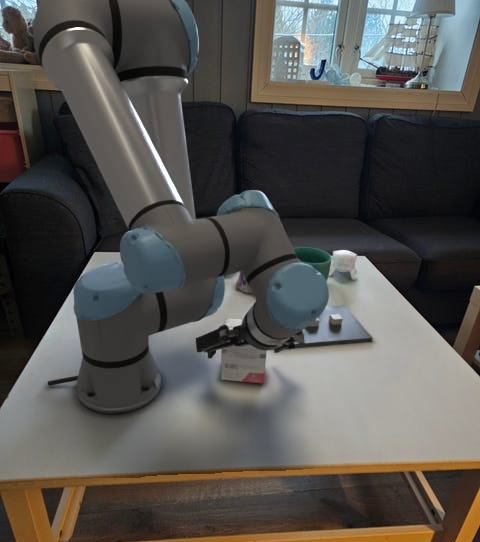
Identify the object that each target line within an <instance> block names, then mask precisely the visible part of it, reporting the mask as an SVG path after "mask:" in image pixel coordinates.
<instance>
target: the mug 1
mask: <svg viewBox="0 0 480 542" xmlns="http://www.w3.org/2000/svg"><path fill="white" fill-rule="evenodd" d="M235 286H236V288H237V289H238V290H240V291H241V292H243V293H251V294H253V293H252V290H251V288H250V286H249V285H248V283H247V281H246V279H245V277H244V275H243V274H242V272H241V271H240V272H239V276H238V278H237V280H236V283H235Z"/></svg>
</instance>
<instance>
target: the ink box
mask: <svg viewBox="0 0 480 542" xmlns="http://www.w3.org/2000/svg"><path fill="white" fill-rule="evenodd" d="M242 321H243V319H237V318H225V320H224V323H223V325H227V326H228V327H229V330H232V329H233V327H235V326H239V325H241V324H242ZM242 342H243V340H242ZM267 353H268V351H264V350H259V349H256V348H254V347H253V346H251V345H246V346H242V347H238V346H231V347H227V348H223V349H221V356H220V357H221V359H220V380H221V381H230V382H231V381H232V382H242V383H243V382H244V383H252V384H253V383H254V384H264V383H265V374H266V364H267Z"/></svg>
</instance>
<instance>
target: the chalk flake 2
mask: <svg viewBox="0 0 480 542" xmlns="http://www.w3.org/2000/svg"><path fill="white" fill-rule="evenodd" d="M342 320H343V319H342V317H341V316H340V315H339V314H332V315H330V317H329V321H330V322H331V323H332V325H338V324H342Z"/></svg>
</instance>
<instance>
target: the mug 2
mask: <svg viewBox="0 0 480 542" xmlns="http://www.w3.org/2000/svg"><path fill="white" fill-rule="evenodd" d="M293 249H294V251H295V253H296V255H297V257H298V259H300V261H301V263H304V264H308V265H310V266H312V267H313V268H314V269H316V270H317V271H318V272H319V273H321V274H322V275H323V277H324V278H325V280H326V282H327V281H328V279H329V277H330V276H329V272H330V268H331V262H332V256H331V254H330V253H328V252H327V251H325V250H323V249H320V248H316V247H309V246H296V247H293Z"/></svg>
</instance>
